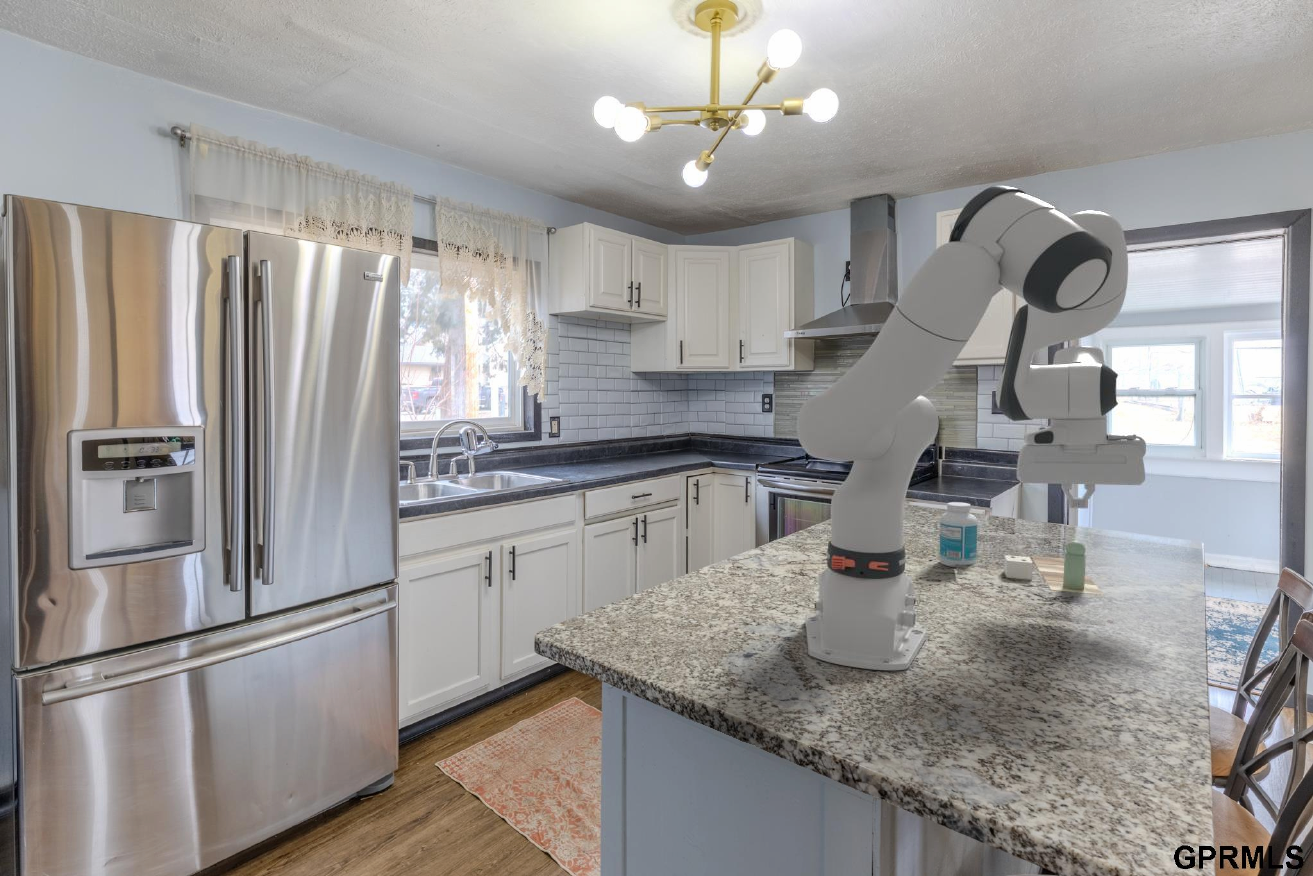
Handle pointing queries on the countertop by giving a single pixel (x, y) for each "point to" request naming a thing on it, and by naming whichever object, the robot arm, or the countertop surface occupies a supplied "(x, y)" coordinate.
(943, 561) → the pill bottle
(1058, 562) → the board
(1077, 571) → the green bottle
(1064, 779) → the countertop surface
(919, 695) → the countertop surface
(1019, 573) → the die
